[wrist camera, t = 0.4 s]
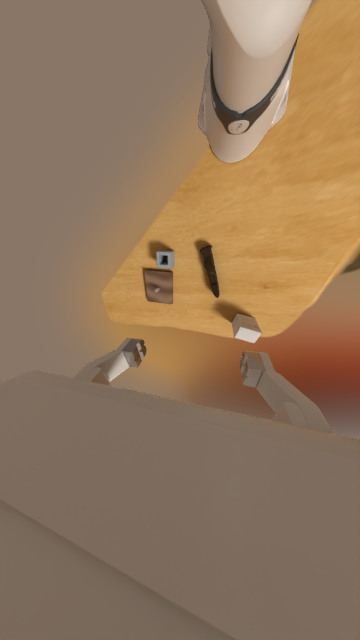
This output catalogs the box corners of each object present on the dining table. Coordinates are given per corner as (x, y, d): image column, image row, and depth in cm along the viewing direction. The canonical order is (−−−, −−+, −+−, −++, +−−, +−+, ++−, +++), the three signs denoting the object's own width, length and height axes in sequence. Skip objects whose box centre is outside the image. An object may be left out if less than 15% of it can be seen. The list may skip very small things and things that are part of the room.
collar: (161, 250, 50) (156, 251, 46) (174, 250, 49) (170, 252, 45) (161, 264, 53) (157, 267, 49) (174, 265, 52) (170, 268, 48)
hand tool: (200, 248, 47) (198, 249, 43) (211, 244, 45) (211, 245, 41) (210, 296, 55) (210, 301, 52) (220, 294, 54) (220, 299, 50)
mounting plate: (145, 269, 55) (139, 272, 51) (172, 271, 53) (168, 275, 49) (149, 299, 63) (144, 304, 59) (172, 302, 61) (169, 308, 57)
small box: (231, 322, 59) (233, 337, 51) (236, 312, 56) (240, 326, 48) (248, 327, 59) (254, 343, 50) (255, 317, 56) (262, 333, 47)
